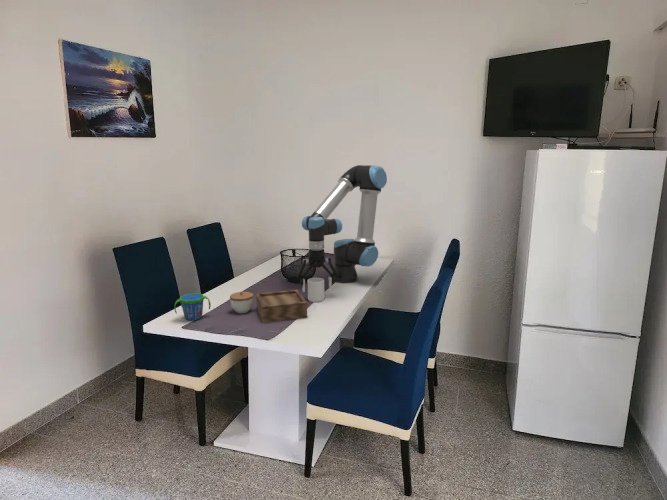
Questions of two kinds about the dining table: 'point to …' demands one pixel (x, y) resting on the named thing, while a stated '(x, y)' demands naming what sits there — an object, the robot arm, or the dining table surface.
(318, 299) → the mug
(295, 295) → the walnut box
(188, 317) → the snack cup
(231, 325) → the dining table surface
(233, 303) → the lidded jar
